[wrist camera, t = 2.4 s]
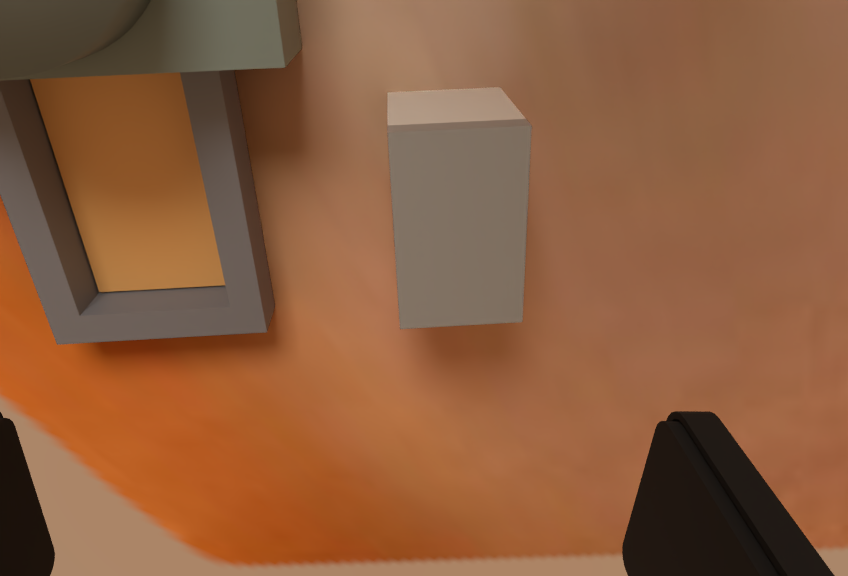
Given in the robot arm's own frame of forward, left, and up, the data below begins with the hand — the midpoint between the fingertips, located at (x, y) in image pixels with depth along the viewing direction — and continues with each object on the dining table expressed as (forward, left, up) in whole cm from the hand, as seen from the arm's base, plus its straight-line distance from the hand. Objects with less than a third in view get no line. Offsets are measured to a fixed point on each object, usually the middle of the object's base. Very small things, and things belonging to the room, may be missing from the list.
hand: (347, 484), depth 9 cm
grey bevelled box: (-3, +2, -22) cm, 22 cm away
